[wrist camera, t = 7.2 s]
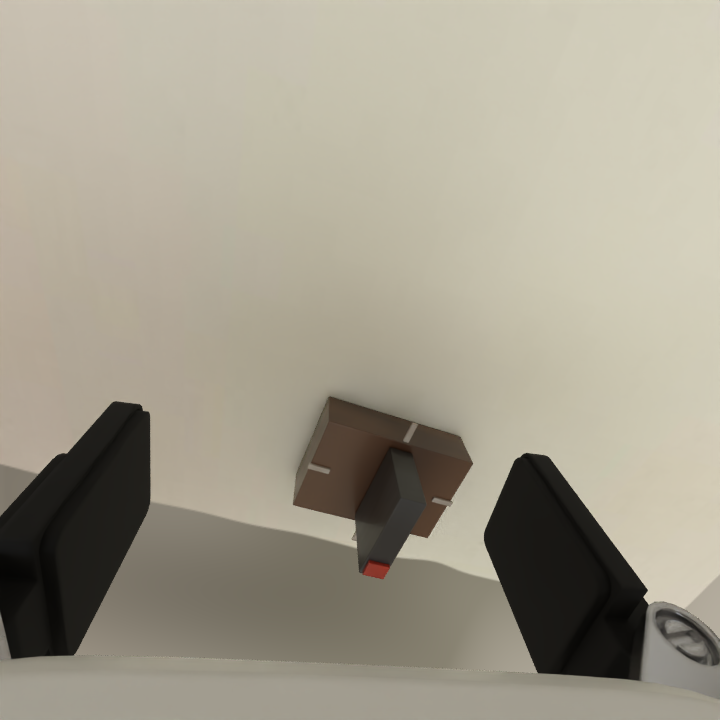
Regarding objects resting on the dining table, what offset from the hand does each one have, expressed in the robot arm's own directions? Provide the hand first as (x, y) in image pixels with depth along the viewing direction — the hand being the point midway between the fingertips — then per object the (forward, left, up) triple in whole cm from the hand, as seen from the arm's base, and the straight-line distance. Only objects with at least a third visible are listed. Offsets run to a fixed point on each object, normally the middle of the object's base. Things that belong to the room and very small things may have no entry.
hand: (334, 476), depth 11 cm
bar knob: (+3, -12, -13) cm, 18 cm away
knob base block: (+3, -12, -16) cm, 20 cm away
